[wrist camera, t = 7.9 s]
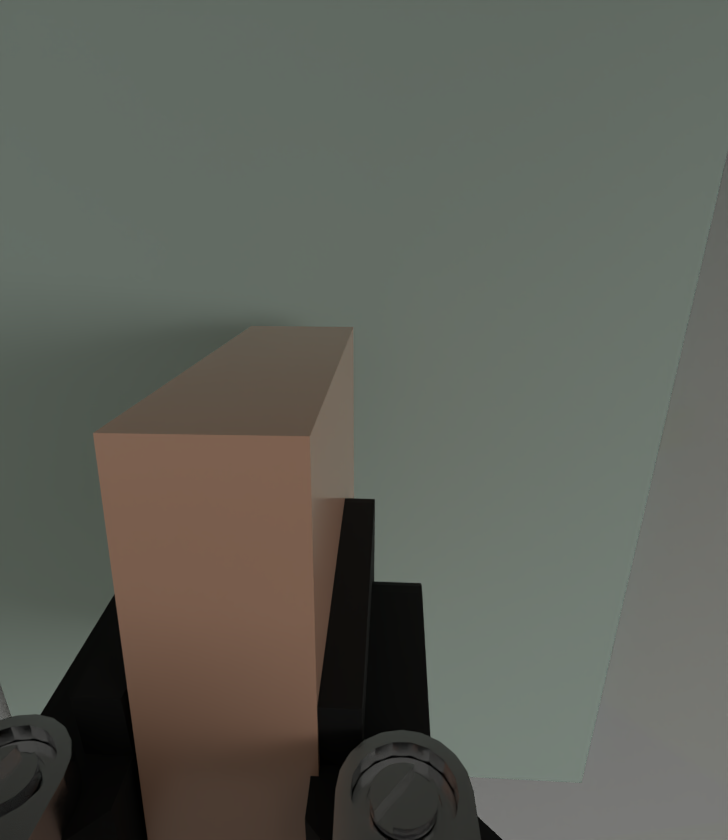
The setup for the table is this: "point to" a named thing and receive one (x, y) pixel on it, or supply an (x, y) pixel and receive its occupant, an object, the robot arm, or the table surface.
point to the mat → (368, 299)
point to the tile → (230, 576)
